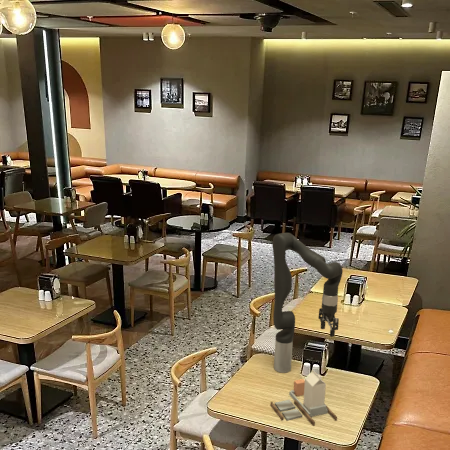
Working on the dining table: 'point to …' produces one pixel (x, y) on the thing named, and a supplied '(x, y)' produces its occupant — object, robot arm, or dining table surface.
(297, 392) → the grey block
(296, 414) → the board
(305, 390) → the milk carton
